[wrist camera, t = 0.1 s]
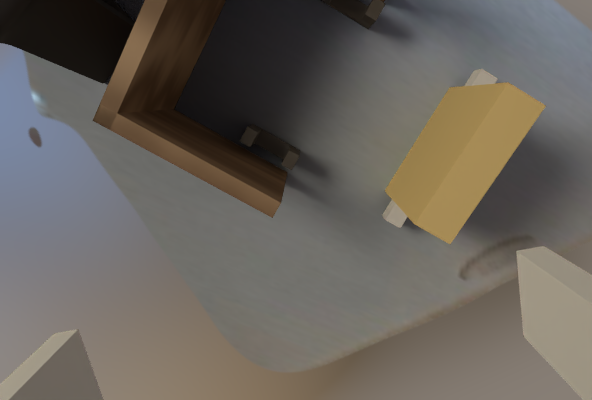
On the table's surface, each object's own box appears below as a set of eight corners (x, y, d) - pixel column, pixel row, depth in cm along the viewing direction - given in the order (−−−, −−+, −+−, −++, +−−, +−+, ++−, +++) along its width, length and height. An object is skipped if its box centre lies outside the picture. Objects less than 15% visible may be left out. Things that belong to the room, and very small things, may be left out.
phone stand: (148, 36, 37) (76, 7, 25) (104, 84, 38) (15, 76, 26) (71, -46, 35) (-44, -118, 24) (27, 6, 36) (-104, -39, 25)
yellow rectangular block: (462, 67, 37) (527, 53, 26) (489, 84, 37) (565, 77, 27) (373, 208, 40) (398, 247, 29) (399, 222, 40) (434, 267, 30)
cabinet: (254, -95, 34) (229, -196, 23) (390, -10, 36) (432, -64, 24) (156, 114, 38) (92, 120, 27) (281, 183, 40) (272, 217, 28)
